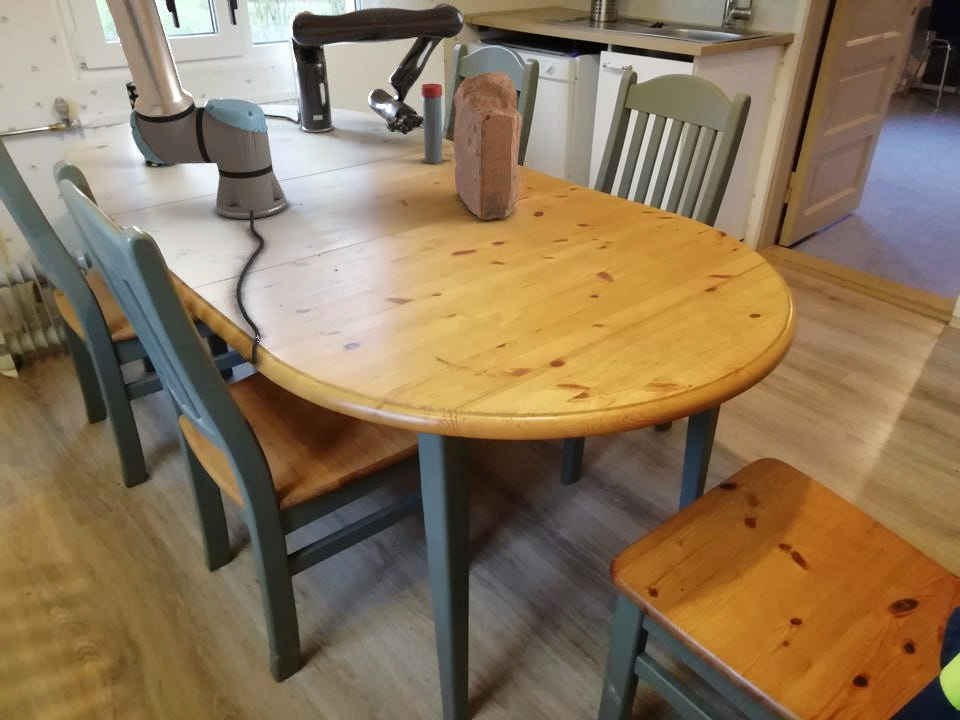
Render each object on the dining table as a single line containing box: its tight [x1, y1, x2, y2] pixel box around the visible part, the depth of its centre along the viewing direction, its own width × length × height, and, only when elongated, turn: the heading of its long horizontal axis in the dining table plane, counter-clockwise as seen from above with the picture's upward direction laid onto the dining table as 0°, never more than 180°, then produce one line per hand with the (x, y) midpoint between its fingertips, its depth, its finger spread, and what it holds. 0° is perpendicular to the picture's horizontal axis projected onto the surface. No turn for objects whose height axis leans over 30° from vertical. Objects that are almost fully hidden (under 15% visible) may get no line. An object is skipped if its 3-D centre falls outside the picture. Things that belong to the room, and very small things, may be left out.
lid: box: [421, 83, 443, 97], centre depth 180 cm, size 5×5×2 cm
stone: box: [453, 71, 523, 221], centre depth 154 cm, size 22×11×28 cm, turn 18°
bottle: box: [422, 96, 443, 165], centre depth 185 cm, size 5×5×19 cm
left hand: (206, 26), depth 171 cm, fingers open, 13 cm apart
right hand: (420, 129), depth 194 cm, fingers open, 8 cm apart
